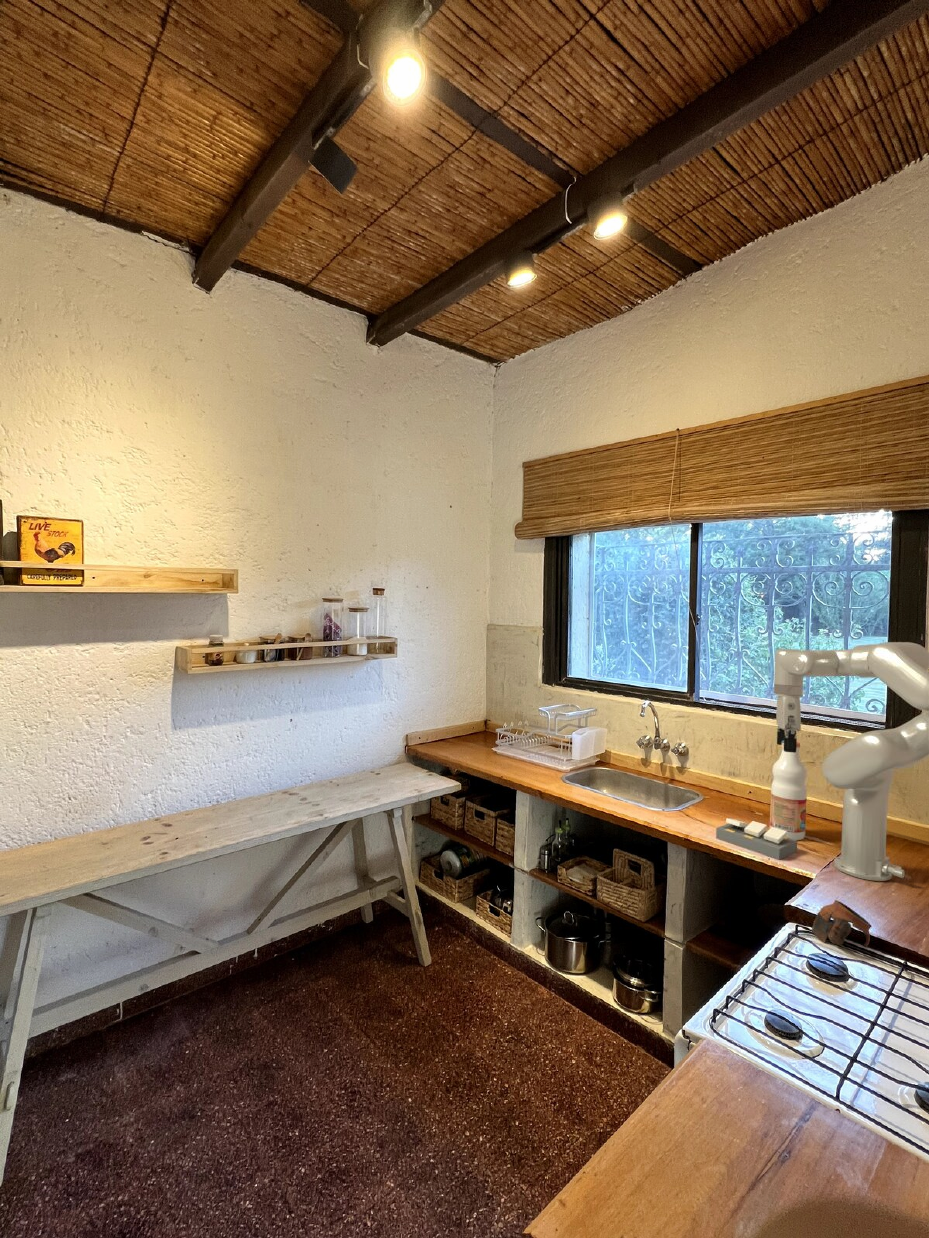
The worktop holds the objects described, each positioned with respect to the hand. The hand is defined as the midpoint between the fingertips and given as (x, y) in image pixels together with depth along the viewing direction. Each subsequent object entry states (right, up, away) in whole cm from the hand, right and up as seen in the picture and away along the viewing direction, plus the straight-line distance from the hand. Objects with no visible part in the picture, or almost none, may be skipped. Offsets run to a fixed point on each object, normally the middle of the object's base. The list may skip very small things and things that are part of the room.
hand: (786, 748), depth 176 cm
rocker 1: (-16, -21, -2) cm, 27 cm away
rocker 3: (-9, -22, -11) cm, 26 cm away
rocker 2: (-12, -22, -7) cm, 26 cm away
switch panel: (-12, -26, -6) cm, 30 cm away
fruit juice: (+1, -27, +2) cm, 27 cm away
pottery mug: (-19, -27, -56) cm, 65 cm away
